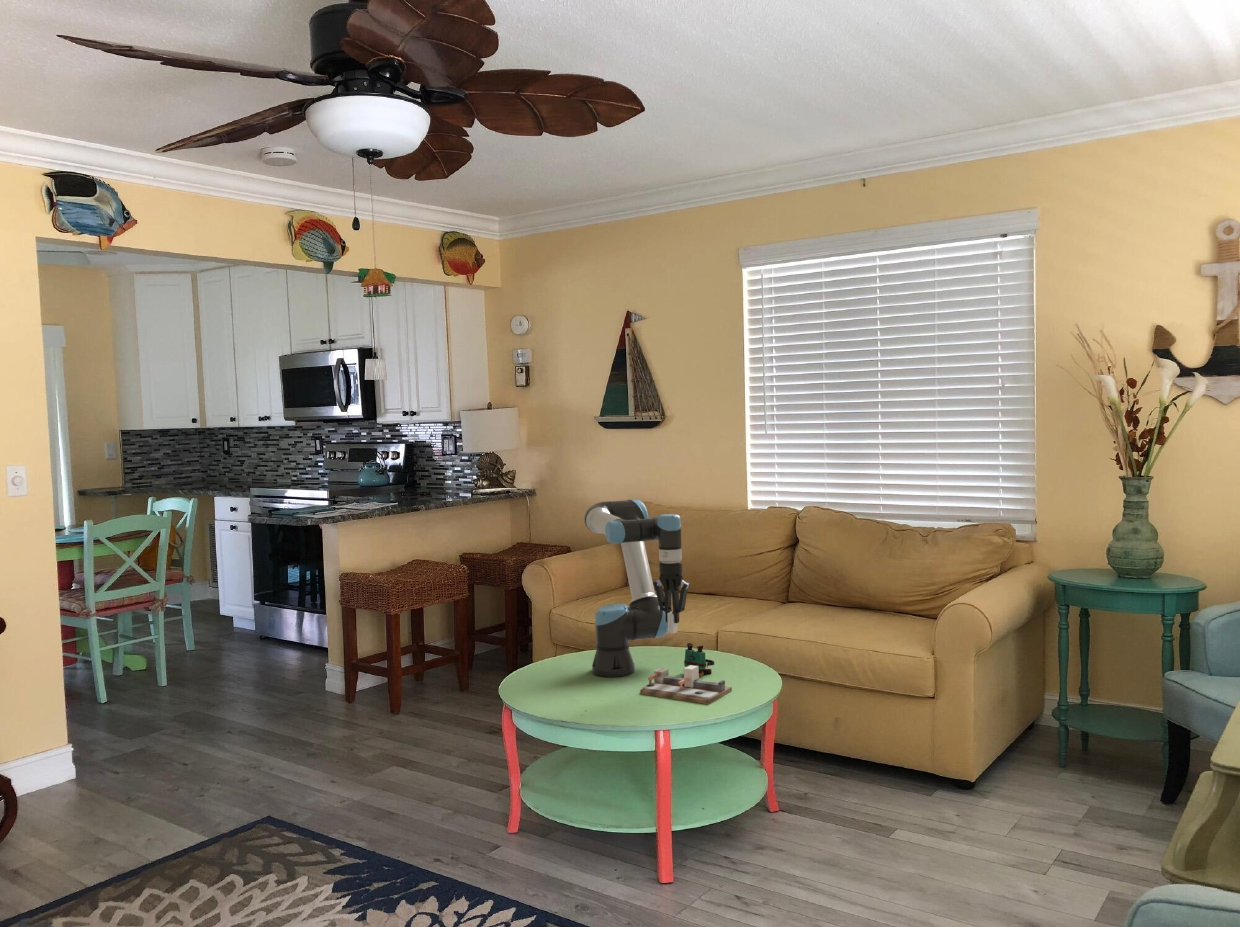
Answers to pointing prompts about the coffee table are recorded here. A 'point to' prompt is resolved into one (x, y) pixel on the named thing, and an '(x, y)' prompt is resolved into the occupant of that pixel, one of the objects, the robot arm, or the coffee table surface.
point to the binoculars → (697, 659)
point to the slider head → (690, 676)
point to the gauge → (684, 688)
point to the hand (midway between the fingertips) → (672, 632)
